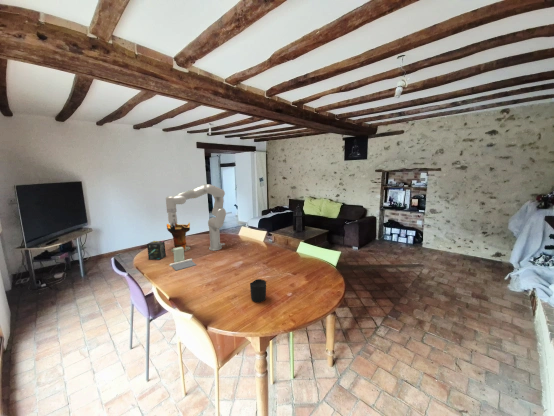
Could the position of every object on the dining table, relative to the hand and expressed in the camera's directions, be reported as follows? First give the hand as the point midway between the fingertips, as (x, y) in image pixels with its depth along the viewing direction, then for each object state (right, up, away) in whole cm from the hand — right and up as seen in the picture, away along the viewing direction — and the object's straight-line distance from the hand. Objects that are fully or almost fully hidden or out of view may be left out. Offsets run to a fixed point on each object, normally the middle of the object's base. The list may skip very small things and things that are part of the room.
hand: (173, 231), depth 196 cm
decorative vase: (-6, -21, +28) cm, 36 cm away
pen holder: (+79, -34, -62) cm, 106 cm away
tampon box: (-17, -25, +6) cm, 31 cm away
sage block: (+7, -26, -4) cm, 27 cm away
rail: (+10, -26, -7) cm, 29 cm away
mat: (+14, -27, -12) cm, 33 cm away
